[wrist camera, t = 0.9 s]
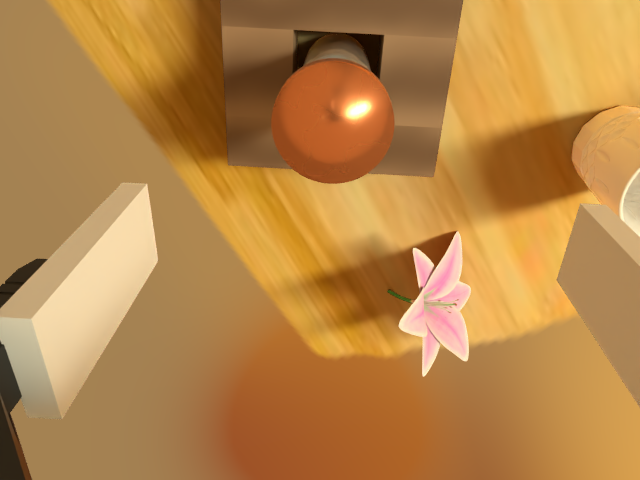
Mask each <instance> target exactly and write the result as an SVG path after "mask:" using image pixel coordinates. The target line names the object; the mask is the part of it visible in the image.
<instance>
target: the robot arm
mask: <svg viewBox="0 0 640 480" xmlns="http://www.w3.org/2000/svg"><path fill="white" fill-rule="evenodd" d="M157 262H158V256H157V249H156V242H155V235H154V229H153V221H152V215H151V207H150V200H149V194H148V187H147V184H140V183H121V185H119V187H118V188H117V189H116V190H115V191H114V192H113V193H112V194H111V195H110V196H109V197H108V198H107V199H106V200H105V201H104V202H103V203H102V204H101V205H100V206H99V207H98V208H97V209H96V210H95V211H94V213H92V214H91V215H90V216H89V217H88V219H87V220H86V221H85V222H84V223H83V224H82V225H81V226H80V227H79V228H78V229H77V230H76V231H75V232H74V233H73V234H72V235H71V236H70V237H69V238H68V239H67V240H66V241H65V242H64V243H63V244H62V246H60V247H59V248H58V249H57V251H55V253H54V254H53V255H52V256H51V257H50V258H49V259H36V260H34V261H32V262H30V263H28V264H26V265H25V266H23V267H21V268H19V269H18V270H17V271H16V272H15V273H13V274H12V276H10V277H9V278H8V279H7V280H6V281H5V284H2V285H1V286H0V480H32V478H31V475H30V473H29V469H28V466H27V463H26V460H25V457H24V454H23V450H22V447H21V444H20V441H19V438H18V435H17V432H16V429H15V426H14V423H13V420H12V418H11V415H10V412H11V411H12V409H13V408H14V407H15V405H16V404H17V403H18V401H19V400H20V398H21V400H22V403H23V406H24V409H25V411H26V414H27V417H32V418H49V419H63V417H64V415H65V414H66V412H67V410H68V409H69V407H70V405H71V404H72V402H73V400H74V399H75V397H76V395H77V394H78V392H79V391H80V389H81V387H82V385H83V384H84V382H85V381H86V379H87V377H88V376H89V374H90V372H91V371H92V369H93V367H94V366H95V364H96V362H97V361H98V359H99V357H100V356H101V354H102V352H103V351H104V349H105V347H106V346H107V344H108V343H109V341H110V339H111V338H112V336H113V334H114V333H115V331H116V329H117V328H118V326H119V324H120V323H121V321H122V319H123V318H124V316H125V315H126V313H127V311H128V310H129V308H130V306H131V304H132V303H133V301H134V300H135V298H136V296H137V295H138V293H139V291H140V290H141V288H142V286H143V285H144V283H145V282H146V280H147V278H148V277H149V275H150V273H151V272H152V270H153V268H154V267H155V265H156V263H157ZM557 281H558V283H559V284H560V286H561V287H562V289H563V291H564V292H565V294H566V295H567V297H568V298H569V300H570V301H571V303H572V304H573V306H574V307H575V309H576V310H577V312H578V314H579V315H580V317H581V318H582V320H583V321H584V323H585V324H586V326H587V327H588V329H589V330H590V332H591V333H592V335H593V336H594V338H595V340H596V341H597V342H598V344H599V346H600V347H601V349H602V350H603V352H604V353H605V355H606V356H607V358H608V359H609V361H610V363H611V364H612V366H613V367H614V369H615V370H616V372H617V373H618V375H619V376H620V378H621V379H622V381H623V382H624V384H625V385H626V387H627V388H628V390H629V391H630V393H631V394H632V396H633V398H634V399H635V401H636V402H637V404H638V405H639V407H640V237H639V236H638V235H637V234H636V233H635V232H634V231H633V230H632V229H631V228H630V227H629V226H628V225H627V224H626V223H625V222H624V221H623V220H621V219H620V218H619V217H618V216H617V215H616V214H615V213H614V212H613V211H612V210H611V209H610V208H609V207H608V206H607V205H600V204H580V206H579V210H578V213H577V216H576V219H575V222H574V226H573V229H572V232H571V235H570V239H569V242H568V245H567V248H566V252H565V255H564V258H563V261H562V264H561V268H560V271H559V274H558V277H557Z"/></svg>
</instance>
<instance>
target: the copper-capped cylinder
mask: <svg viewBox="0 0 640 480" xmlns="http://www.w3.org/2000/svg"><path fill="white" fill-rule="evenodd" d="M394 124H395V121H394V112H393V108H392V104H391V101H390V98H389V95H388V93H387V91H386V89H385V87H384V85H383V84H382V82H381V81H380V80H379V79H378V78H377V77H376V75H375V74H374V73H372V72H371V70H370V65H369V60H368V56H367V53H366V51H365V49H364V48H363V46H362V45H361V44H360V43H359V42H358V41H357V40H356V39H354V38H353V37H351V36H349V35H346V34H341V33H333V34H328V35H325V36H323V37H321V38H320V39H318V40H317V41H316V42H315V43H314V44H313V45H312V46H311V48H310V49H309V51H308V53H307V56H306V59H305V62H304V64H303V67H301V68H300V69H298V70H297V71H296V72H294V73H293V74H292V75H291V76H290V77H289V78H288V79H287V81H286V82H285V83H284V85H283V86H282V88H281V90H280V92H279V94H278V96H277V98H276V101H275V104H274V107H273V111H272V118H271V128H272V135H273V139H274V142H275V145H276V147H277V149H278V151H279V153H280V155H281V156H282V158H283V159H284V160H285V162H286V163H287V164H288V165H289V166H290V167H291V168H292V169H293V170H295V171H296V172H298V173H299V174H300V175H302V176H304V177H306V178H308V179H311V180H314V181H317V182H321V183H345V182H349V181H352V180H355V179H358V178H360V177H362V176H364V175H365V174H367V173H368V172H370V171H371V170H372V169H374V168H375V167H376V166H377V165H378V164H379V163H380V161H381V160H382V159H383V158H384V156H385V155H386V153H387V151H388V149H389V147H390V145H391V142H392V139H393V134H394Z"/></svg>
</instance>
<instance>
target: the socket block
mask: <svg viewBox="0 0 640 480" xmlns="http://www.w3.org/2000/svg"><path fill="white" fill-rule="evenodd" d="M462 4H463V0H220V5H221V26H222V47H223V68H224V89H225V110H226V131H227V152H228V165H233V166H250V167H267V168H284V169H292V168H291V167H290V166H289V165H288V164H287V163H286V162H285V160H284V159H283V158H282V156H281V155H280V153H279V151H278V149H277V147H276V145H275V142H274V139H273V135H272V128H271V118H272V111H273V107H274V104H275V101H276V98H277V96H278V94H279V92H280V90H281V88H282V86H283V85H284V83H285V82H286V81H287V79H288V78H289V77H290V76H291V75H292V74H293V73H294V72H296V71H297V43H298V30H305V31H324V32H343V33H361V34H380V41H379V51H378V62H377V72H376V77H377V78H378V79H379V80H380V81H381V82H382V84H383V85H384V87H385V89H386V91H387V93H388V95H389V98H390V101H391V104H392V108H393V112H394V121H395V124H394V134H393V139H392V142H391V145H390V147H389V149H388V151H387V153H386V155H385V156H384V158H383V159H382V160H381V161H380V163H379V164H378V165H377V166H376V167H375V168H374V169H372V170H371V171H370V172H368V173H371V174H388V175H405V176H422V177H434V172H435V166H436V160H437V154H438V148H439V142H440V136H441V130H442V124H443V118H444V112H445V106H446V100H447V94H448V88H449V82H450V76H451V70H452V64H453V58H454V52H455V46H456V40H457V34H458V28H459V22H460V16H461V10H462Z"/></svg>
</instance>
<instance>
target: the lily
mask: <svg viewBox="0 0 640 480" xmlns="http://www.w3.org/2000/svg"><path fill="white" fill-rule="evenodd" d="M413 256H414V262H415V267H416V273H417V279H418V285H419V293H420V294H419V296H418V298H417V299H416V300H412V299H408V298H405V297H402V296H400V295H398V294H396V293H394V292H392V291H391V290H388V293H390V294H392V295H393V296H395V297H397V298H399V299H401V300H404V301H407V302H410V303H413V304H412V305H411V307H410V308H409V309H408V310H407V312H406V313H405V314H404V316H403V317H402V319H401V320H400V322H399V328H400V329H401V330H402V331H404V332H406V333H409V334H412V335H416V336H421V337H423V367H422V375H423V376H425V375H426V374H427V372H428V371H429V369H430V368H431V366H432V364H433V362H434V360H435V358H436V355H437V353H438V350H439V347H440V343H441V344H442V345H443V346H445V347H446V348H447V349H448V350H450V351H451V352H453V353H454V354H455V355H457V356H458V357H459V358H460V359H462V360H463V361H467V360H468V352H469V347H468V335H467V329H466V325H465V321H464V319H463V316H462V314H461V313H460V312H459V311H460V310H461V309H462V308H463V306H464V305H465V303H466V302H467V300H468V298H469V296H470V293H471V289H470V286H468V285H467V284H465V283H463V282H460V281H459V278H460V275H461V270H462V244H461V237H460V234H459V232H456V234H455V235H454V237H453V240H452V242H451V244H450V246H449V248H448V250H447V252H446V253H445V255H444V257H443V258H442V260H441V261H440V263H439V264H438V266H437V267H436V269H435V267H434V264H433V263H432V262H431V260H430V259H429V258H428V257H427V256H426V255H425V254H424V253H423V252H421V251H420V250H418V249H417V248H413Z"/></svg>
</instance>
